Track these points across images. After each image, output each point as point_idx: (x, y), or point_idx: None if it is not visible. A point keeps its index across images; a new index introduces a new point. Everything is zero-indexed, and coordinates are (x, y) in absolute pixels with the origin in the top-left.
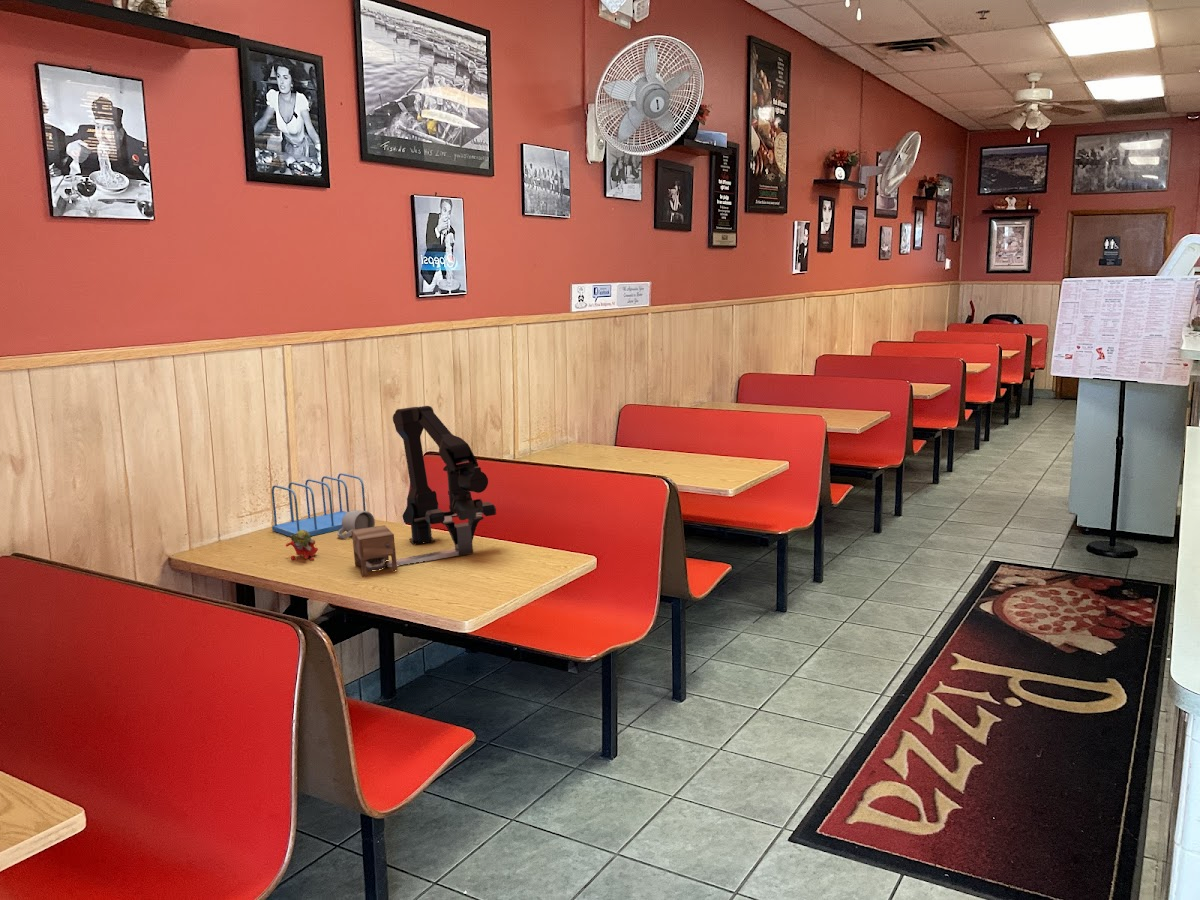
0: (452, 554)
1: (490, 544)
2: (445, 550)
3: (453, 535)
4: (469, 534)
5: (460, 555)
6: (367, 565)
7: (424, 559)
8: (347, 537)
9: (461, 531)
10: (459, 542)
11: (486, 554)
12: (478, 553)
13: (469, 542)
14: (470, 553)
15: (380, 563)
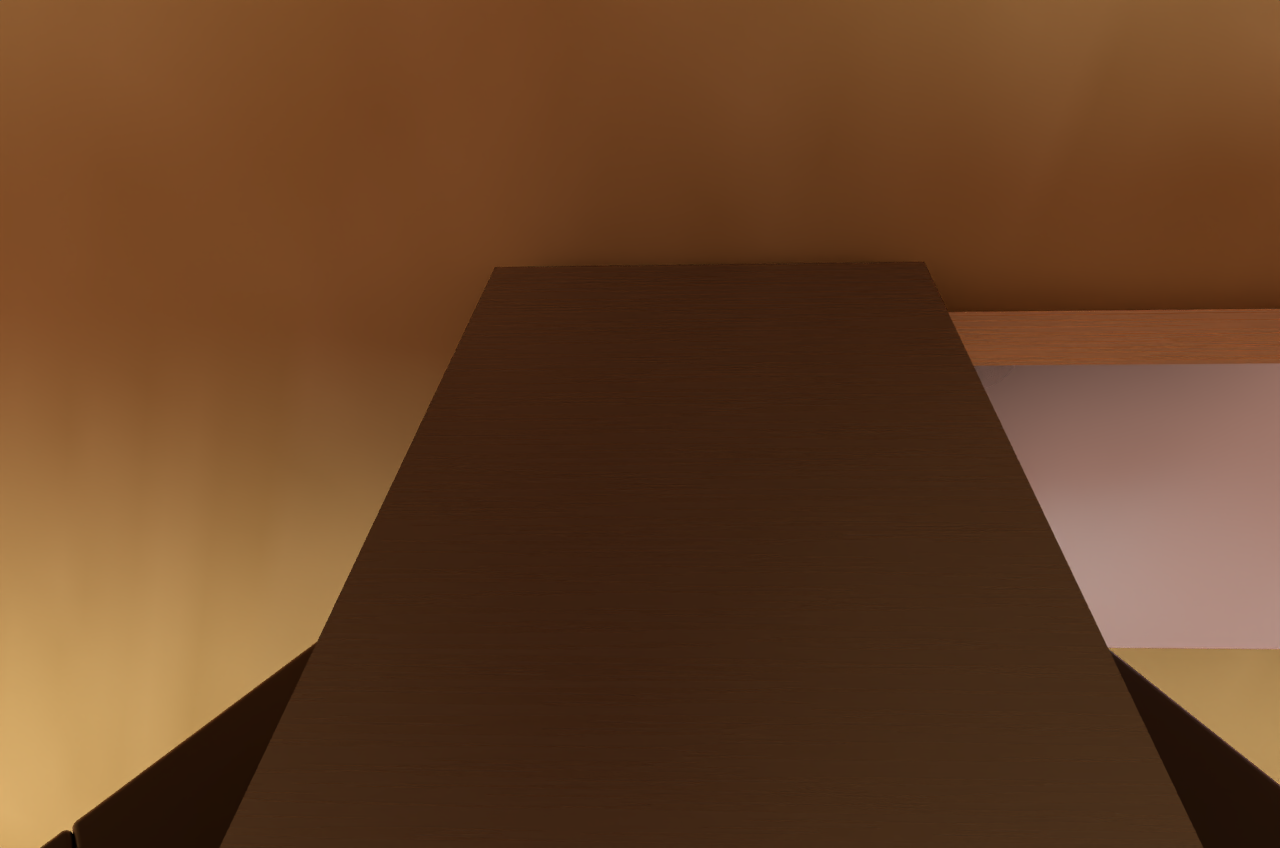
0: (1129, 332)
1: (11, 808)
2: (1217, 648)
3: (1246, 811)
4: (432, 628)
5: (886, 266)
6: None
7: None
8: None
9: (882, 807)
10: (956, 456)
11: (145, 69)
12: (351, 300)
13: (531, 426)
14: (578, 273)
15: None
